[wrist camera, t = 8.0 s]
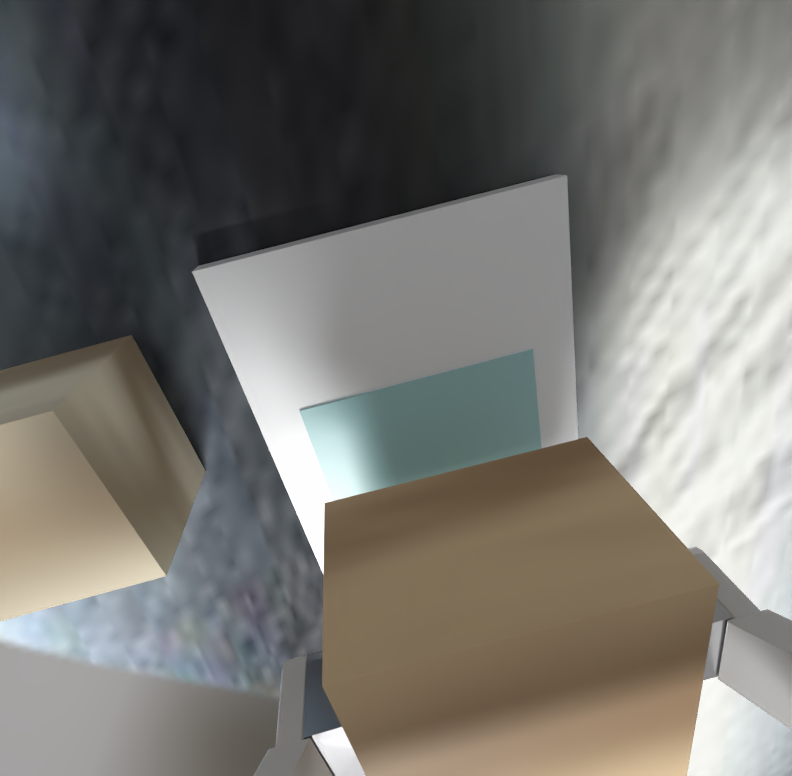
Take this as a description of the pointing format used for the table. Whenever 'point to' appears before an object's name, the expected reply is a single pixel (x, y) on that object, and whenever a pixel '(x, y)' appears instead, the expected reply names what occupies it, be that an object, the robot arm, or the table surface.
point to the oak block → (514, 623)
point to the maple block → (88, 477)
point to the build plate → (405, 343)
